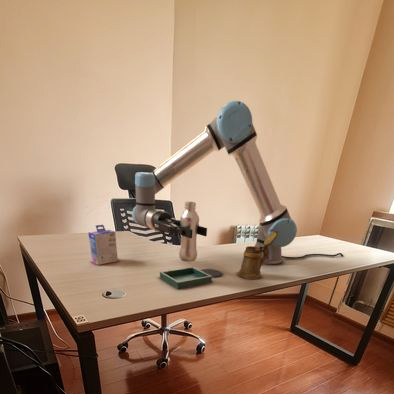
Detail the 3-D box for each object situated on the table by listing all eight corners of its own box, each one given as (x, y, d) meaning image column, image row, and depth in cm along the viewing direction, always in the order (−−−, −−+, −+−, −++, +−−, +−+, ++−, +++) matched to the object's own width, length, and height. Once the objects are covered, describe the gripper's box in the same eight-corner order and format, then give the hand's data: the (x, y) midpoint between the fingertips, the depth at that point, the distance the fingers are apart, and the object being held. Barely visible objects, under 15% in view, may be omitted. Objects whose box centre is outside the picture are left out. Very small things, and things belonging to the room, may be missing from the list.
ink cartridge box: (111, 258, 134) (108, 223, 126) (118, 261, 131) (116, 225, 123) (91, 262, 128) (86, 225, 120) (98, 265, 125) (94, 228, 117)
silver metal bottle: (178, 258, 116) (179, 200, 105) (196, 258, 116) (199, 201, 105) (179, 263, 110) (180, 203, 99) (197, 264, 111) (201, 204, 100)
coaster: (212, 268, 131) (212, 268, 131) (226, 275, 125) (226, 274, 125) (195, 271, 126) (195, 270, 126) (208, 278, 120) (209, 277, 120)
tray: (192, 272, 125) (192, 266, 124) (211, 282, 117) (212, 276, 116) (159, 278, 117) (159, 272, 116) (177, 289, 109) (177, 282, 107)
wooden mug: (273, 279, 125) (283, 233, 115) (242, 279, 122) (249, 232, 112) (265, 271, 132) (273, 228, 122) (235, 271, 130) (241, 227, 120)
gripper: (178, 229, 126) (217, 241, 112) (139, 233, 115) (176, 247, 101) (179, 209, 122) (219, 219, 108) (138, 211, 111) (177, 223, 97)
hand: (198, 233), depth 104 cm, fingers closed on silver metal bottle, 6 cm apart
